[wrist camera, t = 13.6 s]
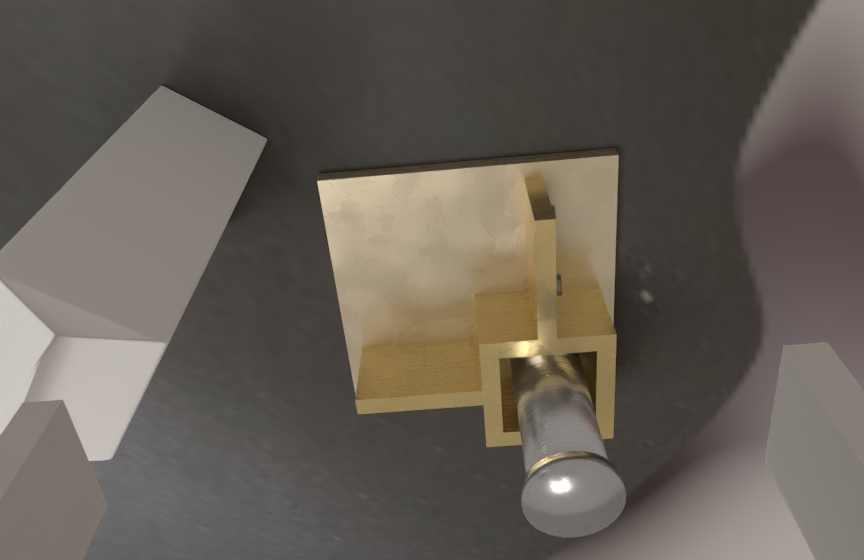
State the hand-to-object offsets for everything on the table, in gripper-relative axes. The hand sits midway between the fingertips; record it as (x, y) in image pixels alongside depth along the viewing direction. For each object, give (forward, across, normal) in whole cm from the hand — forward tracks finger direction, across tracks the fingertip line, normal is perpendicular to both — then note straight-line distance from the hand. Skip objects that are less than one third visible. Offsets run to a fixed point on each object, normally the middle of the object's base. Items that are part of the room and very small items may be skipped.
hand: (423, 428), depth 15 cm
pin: (+28, +5, -18) cm, 33 cm away
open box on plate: (+29, +1, -15) cm, 32 cm away
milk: (+29, -13, -5) cm, 32 cm away
